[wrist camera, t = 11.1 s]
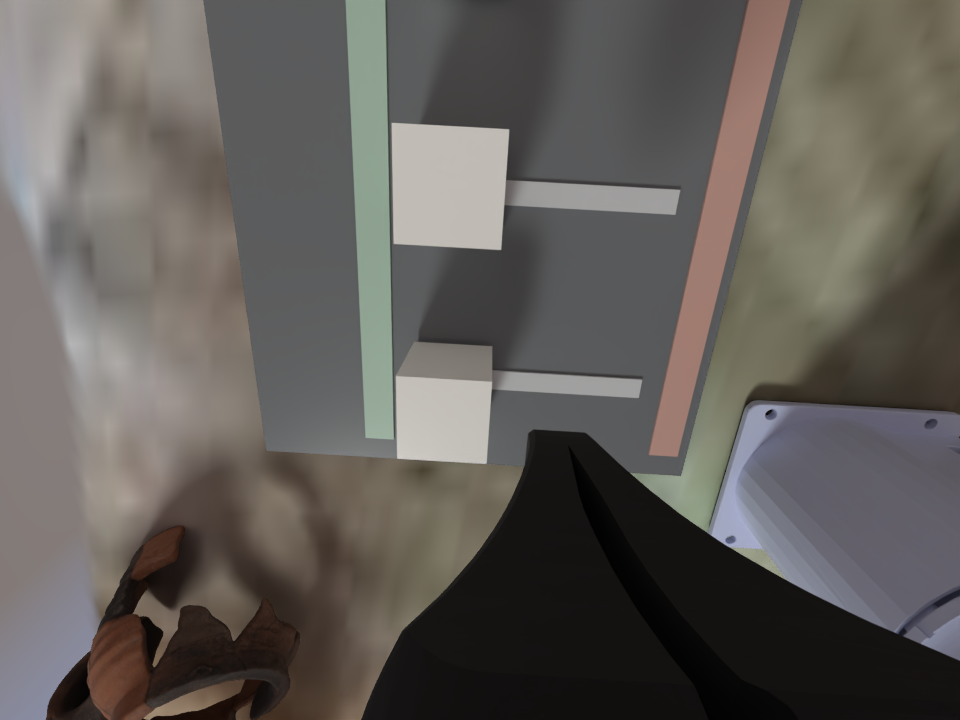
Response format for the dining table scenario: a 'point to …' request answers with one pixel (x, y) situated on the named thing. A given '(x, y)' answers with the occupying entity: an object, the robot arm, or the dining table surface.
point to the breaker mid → (448, 185)
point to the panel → (527, 207)
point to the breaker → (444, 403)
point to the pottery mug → (173, 656)
